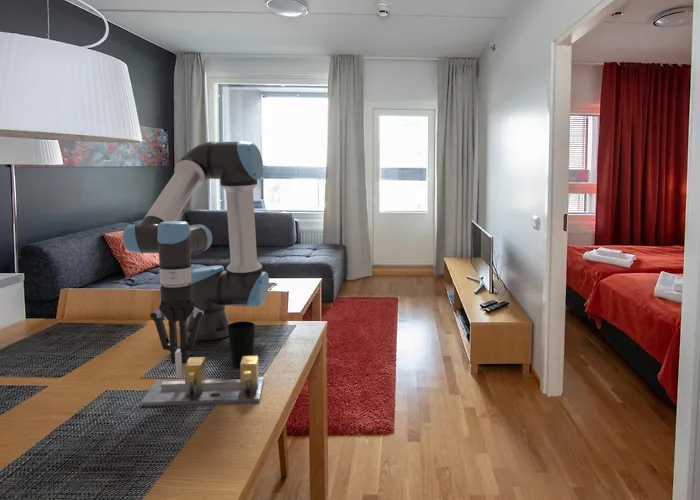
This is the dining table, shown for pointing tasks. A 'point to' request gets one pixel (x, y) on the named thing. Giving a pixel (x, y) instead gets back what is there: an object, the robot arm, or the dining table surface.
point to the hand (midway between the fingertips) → (180, 375)
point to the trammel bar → (247, 375)
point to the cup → (241, 341)
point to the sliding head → (195, 372)
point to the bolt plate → (201, 395)
